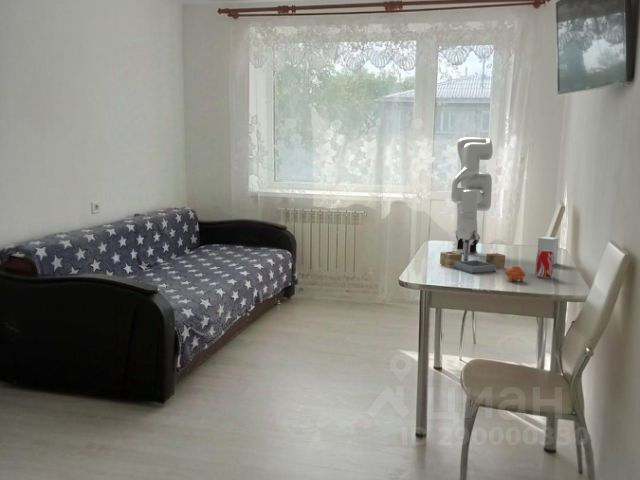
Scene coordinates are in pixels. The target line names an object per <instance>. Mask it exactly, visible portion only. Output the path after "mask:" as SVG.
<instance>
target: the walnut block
mask: <svg viewBox="0 0 640 480" xmlns="http://www.w3.org/2000/svg"><path fill="white" fill-rule="evenodd" d="M485 256H486V257H485V262H486V263H489V264H493V265H496V270H497V269H505V268H506V267H505V266H506V255H505V254H502V253H497V252H493V253H486V255H485Z"/></svg>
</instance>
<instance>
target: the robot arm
mask: <svg viewBox="0 0 640 480" xmlns="http://www.w3.org/2000/svg"><path fill="white" fill-rule="evenodd" d="M456 145H457V148H456V149H457V153H458V158H459V160H460V164H461V167H460V171H459V172H458V173H457V174H456V175H455V177H454V178H453V180H452V184H451V191H450V192H451V193H450V194H451V195H450V196H451V201H452V202H453V203H454V204H456V209H457V210H456V211H457V214H456V215H457V218H456V219H457V221H456V231H455V232H454V233H455V242H453V243H452V245H453V246H454V247H453V248H452V251H453V252H457V253H460V254H464V245H465V240H469V254H475V253H477V252H478V250H477V245H478V244H479V241H480V239H481V236H480V234H479V233H478V218H477V217H478V212H487V211H489V210H490V209H491V206H492V187H493V186H492V185H493V184H492V183H493V182H492V181H493V180H492V176H491V174H490V173H489V172H484V171H483V172H482V171H481V172H480V162H481V161H483V160H484V161H489V160H491V159H492V156H493V152H494V149H493V148H494V147H493V142H492V139H491V138H490V137H463V138H460V139H458V141H457V144H456ZM480 160H481V161H480ZM459 183H460V187H458V185H459Z"/></svg>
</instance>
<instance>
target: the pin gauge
mask: <svg viewBox="0 0 640 480" xmlns="http://www.w3.org/2000/svg"><path fill="white" fill-rule="evenodd" d="M469 254H470V253H469V240H465V245H464V253H463V261H469Z"/></svg>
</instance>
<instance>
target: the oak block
mask: <svg viewBox="0 0 640 480" xmlns="http://www.w3.org/2000/svg"><path fill="white" fill-rule="evenodd" d="M439 256H440V259H439V265H440V264H441V265H440V266H443V265H444V267H446V266H447V267H446V268H454V262H458V261H463V258H462V257H463V253H458V252H454V251H453V250H452V251H440V255H439Z"/></svg>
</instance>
